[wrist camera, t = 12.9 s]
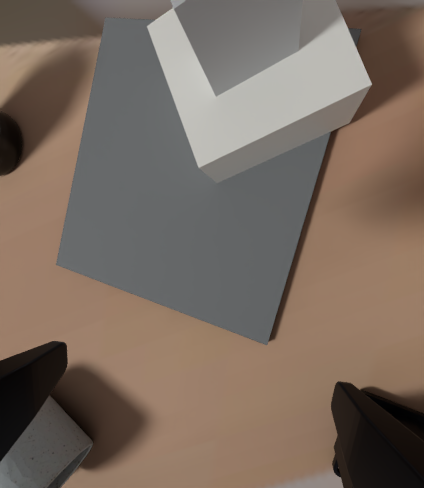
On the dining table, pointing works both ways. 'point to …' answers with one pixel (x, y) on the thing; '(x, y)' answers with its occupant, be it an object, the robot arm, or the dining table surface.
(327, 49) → the cover
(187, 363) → the dining table surface
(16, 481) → the ceramic mug
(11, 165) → the supplement bottle
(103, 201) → the mat
